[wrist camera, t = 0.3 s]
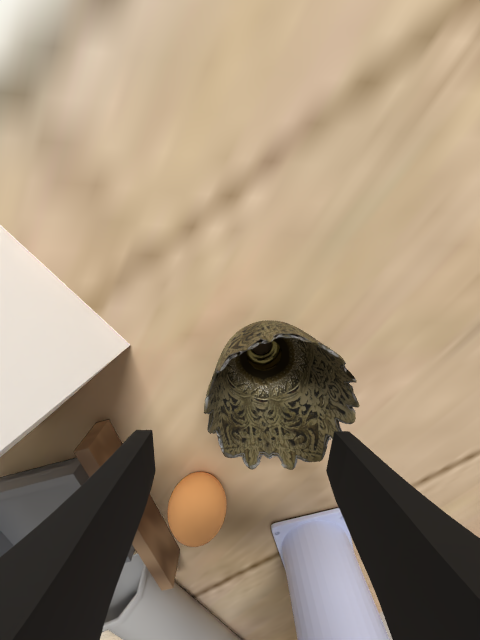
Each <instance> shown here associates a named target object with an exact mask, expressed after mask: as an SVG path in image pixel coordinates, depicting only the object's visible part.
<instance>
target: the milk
mask: <svg viewBox="0 0 480 640" xmlns="http://www.w3.org/2000/svg"><path fill="white" fill-rule="evenodd" d="M129 346H130V344H129V343H128V342H127V341H126V340H125V339H124V338H123V337H122V336H121V335H119V334H118V333H117V332H116V331H115V330H114V329H113V328H112V327H111V326H110V325H109V324H107V323H106V322H105V321H104V320H103V319H102V318H101V317H100V316H99V315H98V314H97V313H96V312H94V311H93V310H92V309H91V308H90V307H89V306H88V305H87V304H86V303H85V302H84V301H83V300H81V299H80V298H79V297H78V296H77V295H76V294H75V293H74V292H73V291H72V290H71V289H70V288H68V287H67V286H66V285H65V284H64V283H63V282H62V281H61V280H60V279H59V278H58V277H57V276H55V275H54V274H53V273H52V272H51V271H50V270H49V269H48V268H47V267H46V266H45V265H43V264H42V263H41V262H40V261H39V260H38V259H37V258H36V257H35V256H34V255H33V254H32V253H30V252H29V251H28V250H27V249H26V248H25V247H24V246H23V245H22V244H21V243H20V242H19V241H17V240H16V239H15V238H14V237H13V236H12V235H11V234H10V233H9V232H8V231H7V230H6V229H4V228H3V227H2V226H1V225H0V457H1V456H2V455H3V454H5V453H6V452H7V451H8V450H9V449H11V448H12V447H13V446H14V445H15V444H17V443H18V442H19V441H20V440H21V439H23V438H24V437H25V436H26V435H27V434H28V433H30V432H31V431H32V430H33V429H34V428H36V427H37V426H38V425H39V424H40V423H41V422H43V421H44V420H45V419H46V418H47V417H48V416H50V415H51V414H52V413H53V412H54V411H55V410H56V409H58V408H59V407H60V406H61V405H62V404H63V403H64V402H66V401H67V400H68V399H69V398H70V397H71V396H72V395H74V394H75V393H76V392H77V391H78V390H79V389H80V388H82V387H83V386H84V385H85V384H86V383H87V382H89V381H90V380H91V379H92V378H93V377H94V376H95V375H97V374H98V373H99V372H100V371H101V370H102V369H103V368H105V367H106V366H107V365H108V364H109V363H110V362H111V361H113V360H114V359H115V358H116V357H117V356H118V355H119V354H121V353H122V352H123V351H124V350H125V349H126V348H128V347H129Z"/></svg>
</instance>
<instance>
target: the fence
mask: <svg viewBox="0 0 480 640" xmlns="http://www.w3.org/2000/svg"><path fill="white" fill-rule="evenodd" d="M121 445H122V443H121V441H120V439H119V437H118V435H117V434H116V432H115V430H114V428H113V426H112V424H111V423H110V421H109V420H105V421H101V422H98V423H95V425H94V426H93V427H92V429H91V430H90V431H89V432H88V434H87V435H86V436H85V438H84V439H83V440H82V442H81V443H80V444H79V445H78V447H77V448H76V449H75V451H74V454H75V455H76V457H77V459H78V460H79V462H80V463H81V465H82V466H83V468H84V470H85V471H86V473H87V474H88V476H89V477H91V476H92V475H93V474H94V473H95V472H96V471H97V470H98V469H99V468H100V467H101V466H102V465H103V464H104V463H105V462H106V461H107V460H108V459H109V458H110V457H111V456H112V454H113V453H114V452H115V451H116V450H117V449H118V448H119V447H120V446H121ZM132 545H133V547H134V548H135V550H136V551H137V553H138V554H139V556H140V558H141V559H142V561H143V562H144V564H145V566H146V567H147V569H148V570H149V572H150V573H151V575H152V577H153V578H154V580H155V581H156V583H157V584H158V586H159V588H160V589H161V591H163V590H167V589H172V588H173V587H174V581H175V575H176V569H177V563H178V557H179V551H180V549H179V547H178V545H177V544H176V542H175V540H174V538H173V536H172V534H171V533H170V531H169V529H168V527H167V525H166V523H165V522H164V520H163V518H162V516H161V514H160V512H159V511H158V509H157V507H156V505H155V503H154V501H153V500H152V498H151V496H150V494H149V498H148V501H147V504H146V507H145V510H144V513H143V515H142V518H141V521H140V524H139V526H138V529H137V532H136V535H135V537H134V540H133V543H132Z"/></svg>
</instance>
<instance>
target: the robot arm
mask: <svg viewBox="0 0 480 640" xmlns="http://www.w3.org/2000/svg"><path fill="white" fill-rule="evenodd" d="M326 471H327V474H328V478H329V481H330V484H331V487H332V490H333V493H334V496H335V499H336V502H337V504H338V507H339V508H336V509H331V510H327V511H323V512H319V513H315V514H310V515H306V516H302V517H298V518H293V519H289V520H285V521H281V522H277V523H273V524H272V525H271V530H272V533H273V536H274V539H275V542H276V545H277V548H278V551H279V554H280V557H281V560H282V562H283V565H284V568H285V571H286V575H287V581H288V587H289V593H290V599H291V604H292V610H293V616H294V622H295V627H296V633H297V639H298V640H390V639H389V637H388V634H387V632H386V630H385V627H384V625H383V622H382V620H381V617H380V615H379V612H378V610H377V608H376V605H375V603H374V600H373V598H372V595H371V593H370V590H369V588H368V586H367V583H366V581H365V578H364V576H363V573H362V571H361V569H360V566H359V564H358V561H357V559H356V556H355V554H354V550H353V545H352V540H351V537H352V539H353V541H354V544H355V546H356V548H357V550H358V553H359V555H360V557H361V560H362V562H363V564H364V566H365V569H366V571H367V573H368V575H369V578H370V580H371V583H372V585H373V588H374V590H375V592H376V595H377V597H378V600H379V603H380V605H381V608H382V611H383V614H384V616H385V619H386V622H387V625H388V628H389V630H390V633H391V636H392V639H393V640H480V538H479V537H477V536H476V535H474V534H473V533H472V532H470V531H469V530H468V529H466V528H465V527H463V526H462V525H461V524H459V523H458V522H457V521H455V520H454V519H453V518H451V517H450V516H449V515H447V514H446V513H445V512H444V511H442V510H441V509H440V508H439V507H437V506H436V505H435V504H434V503H432V502H431V501H430V500H428V499H427V498H426V497H425V496H423V495H422V494H421V493H420V492H419V491H417V490H416V489H415V488H414V487H412V486H411V485H410V484H409V483H408V482H406V481H405V480H404V479H403V478H402V477H401V476H399V475H398V474H397V473H396V472H395V471H394V470H392V469H391V468H390V467H389V466H388V465H387V464H386V463H384V462H383V461H382V460H381V459H380V458H379V457H378V456H376V455H375V454H374V453H373V452H372V451H371V450H370V449H369V448H367V447H366V446H365V445H364V444H363V443H362V442H361V441H359V440H358V439H357V438H356V437H355V436H354V435H352V434H351V433H350V432H347V431H334V434H333V440H332V445H331V450H330V455H329V460H328V465H327V470H326ZM154 475H155V460H154V447H153V434H152V430H136V431H135V432H134V433H133V434H132V435H131V436H130V437H129V438H128V439H127V440H126V441H125V442H124V443H123V444H122V445H121V446H120V447H119V448H118V449H117V450H116V451H115V452H114V453H113V454H112V456H111V457H110V458H109V459H108V460H107V461H106V462H105V463H104V464H103V465H102V466H101V467H100V468H99V469H98V470H97V471H96V472H95V473H94V474H93V475H92V476H91V477H90V478H89V479H88V480H87V481H86V482H85V483H84V484H83V485H82V486H81V487H79V488H78V489H77V490H76V491H75V492H74V493H73V494H72V495H71V496H70V497H69V498H68V499H67V500H66V501H64V502H63V503H62V504H61V505H60V506H59V507H58V508H57V509H56V510H55V511H54V512H53V513H51V514H50V515H49V516H48V517H47V518H46V519H45V520H44V521H42V522H41V523H40V524H39V525H38V526H37V527H36V528H34V529H33V530H32V531H31V532H30V533H29V534H27V535H26V536H25V537H24V538H23V539H21V540H20V541H19V542H18V543H17V544H16V545H14V546H13V547H12V548H11V549H10V550H8V551H7V552H6V553H5V554H3V555H2V556H1V557H0V640H100V636H101V633H102V630H103V626H104V623H105V620H106V616H107V613H108V610H109V606H110V604H111V601H112V598H113V595H114V592H115V589H116V586H117V583H118V580H119V578H120V575H121V572H122V570H123V567H124V564H125V562H126V559H127V556H128V553H129V551H130V548H131V545H132V543H133V540H134V537H135V535H136V532H137V529H138V526H139V524H140V521H141V518H142V515H143V513H144V510H145V507H146V504H147V501H148V498H149V494H150V490H151V487H152V483H153V479H154ZM350 534H351V535H350Z"/></svg>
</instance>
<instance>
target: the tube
mask: <svg viewBox="0 0 480 640" xmlns="http://www.w3.org/2000/svg"><path fill="white" fill-rule="evenodd" d="M106 630H109V631H111V632H112V633H114V634H115V635H117V636H118V637H120V638H121V639H123V640H242V639H241V638H239V637H238V636H237V635H236V634H235V633H234V632H232V631H231V630H230V629H229V628H228V627H227V626H225V625H224V624H223V623H222V622H221V621H220V620H218V619H217V618H216V617H215V616H214V615H213V614H212V613H210V612H209V611H208V610H207V609H206V608H205V607H203V606H202V605H201V604H200V603H199V602H198V601H196V600H195V599H194V598H193V597H192V596H191V595H189V594H188V593H187V592H186V591H185V590H184V589H183V588H181V587H180V586H179V585H178V584H177V583H176V582H174V587H173V588H172V589H167V590H163V591H161V589H160V588H159V586H158V584H157V583H156V581H155V580H154V578H153V577H152V575H151V573H150V572H149V570H148V569H147V567H146V566H145V564H144V562H143V561H142V559H141V558H140V556H139V554H138V553H137V554H135V555H133V557H132V560H131V562H127V563H125V564H124V567H123V570H122V572H121V575H120V578H119V580H118V583H117V586H116V589H115V592H114V595H113V598H112V601H111V604H110V606H109V610H108V613H107V616H106V620H105V623H104V626H103V630H102V632H104V631H106Z"/></svg>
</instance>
